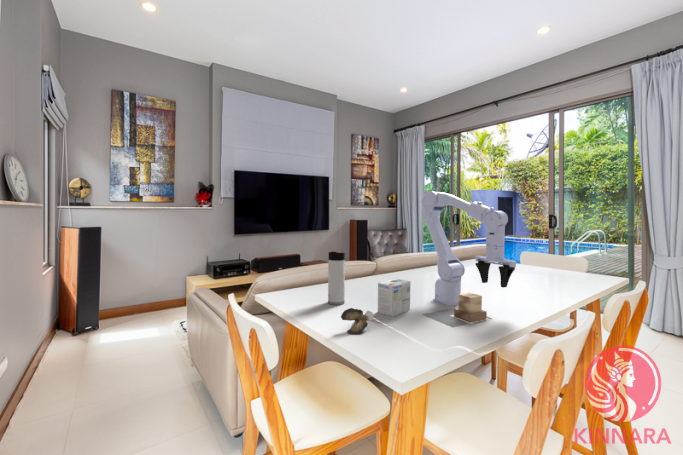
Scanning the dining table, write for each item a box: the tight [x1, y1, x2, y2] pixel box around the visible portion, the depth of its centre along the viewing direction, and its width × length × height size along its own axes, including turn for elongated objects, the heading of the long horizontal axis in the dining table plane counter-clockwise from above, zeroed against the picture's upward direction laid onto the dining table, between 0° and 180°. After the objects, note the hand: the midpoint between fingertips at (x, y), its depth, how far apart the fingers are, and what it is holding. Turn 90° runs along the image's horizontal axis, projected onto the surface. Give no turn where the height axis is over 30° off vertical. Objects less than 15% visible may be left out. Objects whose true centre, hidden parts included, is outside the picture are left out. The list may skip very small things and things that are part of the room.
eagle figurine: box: [340, 307, 374, 336], centre depth 96 cm, size 8×7×9 cm
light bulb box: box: [377, 278, 411, 317], centre depth 113 cm, size 11×7×11 cm, turn 134°
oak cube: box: [457, 292, 483, 313], centre depth 106 cm, size 5×5×5 cm
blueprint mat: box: [420, 307, 493, 328], centre depth 107 cm, size 14×18×1 cm
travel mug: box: [327, 251, 346, 306], centre depth 123 cm, size 6×7×20 cm
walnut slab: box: [454, 307, 488, 323], centre depth 106 cm, size 7×7×2 cm
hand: (494, 284), depth 112 cm, fingers open, 7 cm apart
